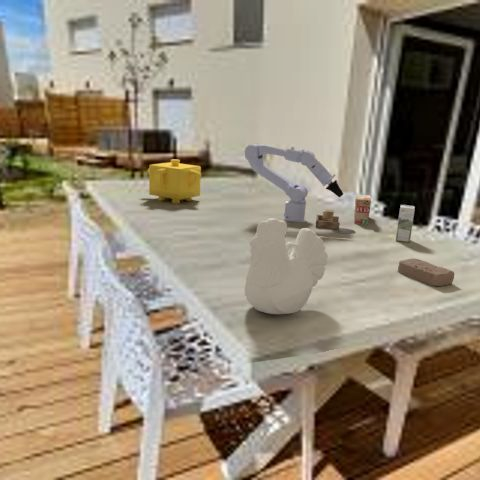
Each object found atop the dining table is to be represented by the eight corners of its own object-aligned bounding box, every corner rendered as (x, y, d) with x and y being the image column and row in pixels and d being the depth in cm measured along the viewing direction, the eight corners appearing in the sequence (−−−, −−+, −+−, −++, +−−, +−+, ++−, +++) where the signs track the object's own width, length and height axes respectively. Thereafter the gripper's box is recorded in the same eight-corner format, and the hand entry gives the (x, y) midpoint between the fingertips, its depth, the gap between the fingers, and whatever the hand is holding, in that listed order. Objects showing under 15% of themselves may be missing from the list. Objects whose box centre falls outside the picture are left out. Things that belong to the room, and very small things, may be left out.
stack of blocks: (353, 215, 255) (356, 190, 251) (366, 216, 253) (369, 191, 250) (354, 225, 234) (357, 198, 231) (368, 226, 233) (371, 199, 230)
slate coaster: (331, 234, 215) (331, 232, 215) (331, 228, 225) (331, 227, 225) (356, 236, 214) (356, 235, 214) (354, 230, 223) (354, 229, 223)
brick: (395, 272, 171) (397, 258, 170) (413, 269, 175) (415, 256, 174) (435, 289, 158) (437, 274, 156) (453, 285, 162) (456, 271, 160)
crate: (315, 228, 224) (316, 220, 223) (316, 222, 236) (316, 214, 235) (338, 230, 222) (339, 222, 221) (338, 223, 234) (338, 216, 233)
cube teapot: (217, 200, 274) (219, 160, 268) (182, 208, 250) (183, 165, 244) (167, 191, 292) (167, 154, 286) (130, 198, 267) (129, 157, 262)
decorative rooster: (255, 326, 125) (261, 227, 118) (233, 301, 139) (237, 212, 132) (343, 315, 134) (354, 223, 127) (314, 293, 148) (322, 209, 141)
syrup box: (410, 239, 213) (415, 205, 209) (409, 243, 207) (414, 208, 204) (396, 237, 215) (400, 204, 211) (395, 241, 209) (400, 206, 205)
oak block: (322, 225, 227) (323, 211, 225) (322, 223, 231) (323, 209, 229) (332, 226, 226) (333, 212, 224) (332, 224, 230) (333, 210, 229)
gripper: (327, 166, 219) (348, 189, 218) (328, 167, 233) (348, 189, 233) (314, 177, 221) (336, 200, 220) (317, 178, 235) (336, 200, 234)
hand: (341, 195), depth 226 cm, fingers open, 7 cm apart
